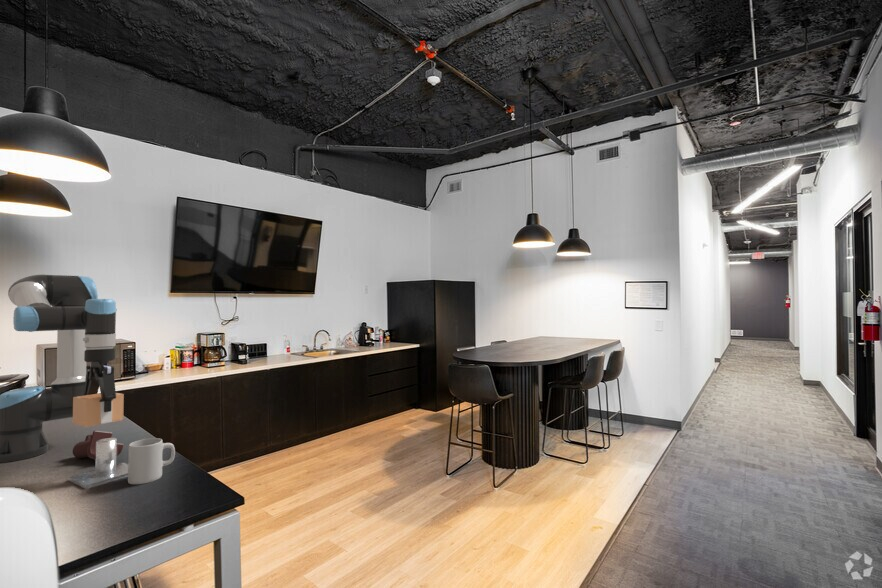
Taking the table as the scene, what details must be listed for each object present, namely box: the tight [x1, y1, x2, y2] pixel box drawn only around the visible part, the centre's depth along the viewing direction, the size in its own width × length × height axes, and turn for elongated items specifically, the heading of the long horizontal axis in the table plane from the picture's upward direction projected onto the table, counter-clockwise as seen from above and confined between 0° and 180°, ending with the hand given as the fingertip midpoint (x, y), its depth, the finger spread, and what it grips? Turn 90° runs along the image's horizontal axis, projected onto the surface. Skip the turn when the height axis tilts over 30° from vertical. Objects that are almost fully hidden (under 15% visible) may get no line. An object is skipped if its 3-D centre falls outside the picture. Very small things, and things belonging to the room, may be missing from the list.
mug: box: [127, 437, 176, 485], centre depth 129 cm, size 12×8×11 cm
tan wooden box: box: [72, 392, 125, 428], centre depth 130 cm, size 10×10×8 cm
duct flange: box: [68, 437, 128, 490], centre depth 129 cm, size 12×14×11 cm
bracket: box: [72, 430, 124, 462], centre depth 144 cm, size 6×17×10 cm, turn 75°
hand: (99, 420), depth 130 cm, fingers closed on tan wooden box, 9 cm apart
